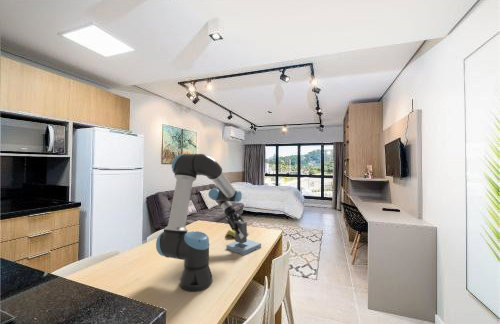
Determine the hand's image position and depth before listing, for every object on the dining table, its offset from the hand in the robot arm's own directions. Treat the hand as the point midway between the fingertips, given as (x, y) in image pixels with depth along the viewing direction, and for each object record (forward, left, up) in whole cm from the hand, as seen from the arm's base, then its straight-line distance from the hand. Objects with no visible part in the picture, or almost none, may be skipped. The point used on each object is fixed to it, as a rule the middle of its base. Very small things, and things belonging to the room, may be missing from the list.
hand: (245, 236), depth 146 cm
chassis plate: (+3, +4, -9) cm, 10 cm away
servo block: (0, +4, -4) cm, 6 cm away
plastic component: (+21, +28, -10) cm, 36 cm away
